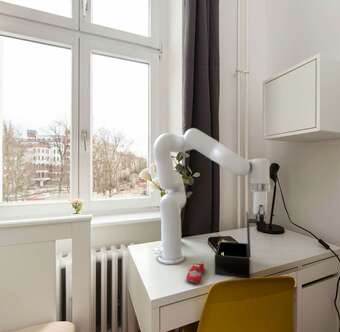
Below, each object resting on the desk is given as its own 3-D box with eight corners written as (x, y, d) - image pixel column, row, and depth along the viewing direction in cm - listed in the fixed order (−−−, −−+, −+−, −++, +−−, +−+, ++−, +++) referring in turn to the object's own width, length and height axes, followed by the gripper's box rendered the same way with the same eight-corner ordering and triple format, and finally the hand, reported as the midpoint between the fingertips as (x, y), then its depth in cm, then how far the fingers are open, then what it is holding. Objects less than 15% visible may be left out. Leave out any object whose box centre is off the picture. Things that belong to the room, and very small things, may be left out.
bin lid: (246, 220, 86) (261, 220, 84) (246, 211, 103) (258, 211, 101) (248, 257, 85) (263, 258, 84) (247, 242, 102) (260, 243, 101)
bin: (215, 274, 88) (214, 255, 89) (219, 257, 106) (219, 241, 106) (249, 278, 85) (249, 258, 85) (248, 260, 102) (248, 243, 102)
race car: (198, 286, 80) (198, 275, 80) (184, 284, 82) (184, 273, 82) (206, 270, 93) (206, 260, 93) (194, 268, 94) (194, 259, 94)
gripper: (250, 185, 102) (250, 222, 102) (251, 189, 85) (252, 233, 85) (267, 186, 100) (267, 223, 100) (272, 189, 83) (272, 234, 83)
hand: (260, 228), depth 93 cm, fingers open, 8 cm apart
